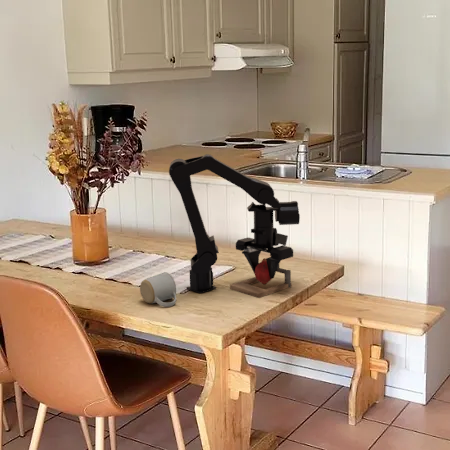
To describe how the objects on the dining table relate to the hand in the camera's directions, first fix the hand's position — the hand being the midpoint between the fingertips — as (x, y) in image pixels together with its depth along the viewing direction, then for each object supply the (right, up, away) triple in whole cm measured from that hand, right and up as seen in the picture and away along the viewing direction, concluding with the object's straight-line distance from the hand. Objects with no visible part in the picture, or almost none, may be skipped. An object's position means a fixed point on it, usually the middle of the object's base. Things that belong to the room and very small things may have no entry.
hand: (264, 276), depth 210 cm
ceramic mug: (-30, -7, -10) cm, 32 cm away
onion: (0, -3, +1) cm, 3 cm away
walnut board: (-1, -3, 0) cm, 3 cm away
